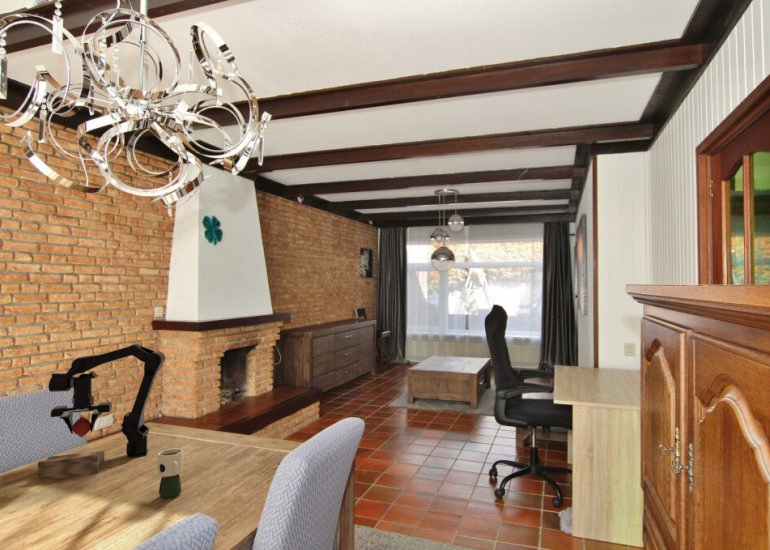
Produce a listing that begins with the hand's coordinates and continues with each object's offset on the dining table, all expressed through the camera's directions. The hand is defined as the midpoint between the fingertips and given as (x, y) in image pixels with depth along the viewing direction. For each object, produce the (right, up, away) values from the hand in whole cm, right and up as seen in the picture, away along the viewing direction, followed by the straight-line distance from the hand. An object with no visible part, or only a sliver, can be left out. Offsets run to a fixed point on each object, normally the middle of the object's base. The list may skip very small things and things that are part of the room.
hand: (81, 432), depth 175 cm
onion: (0, -2, 0) cm, 2 cm away
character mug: (+48, -8, -33) cm, 59 cm away
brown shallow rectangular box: (+5, -9, -12) cm, 16 cm away
